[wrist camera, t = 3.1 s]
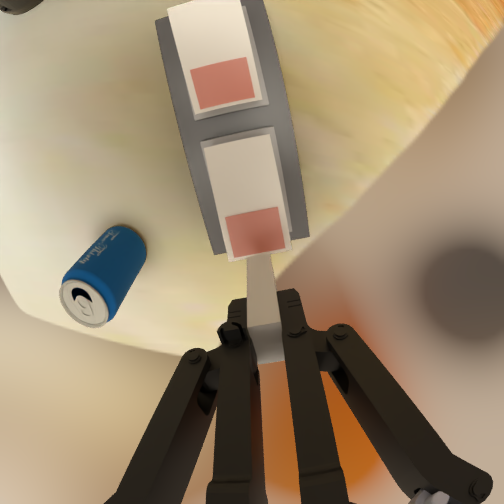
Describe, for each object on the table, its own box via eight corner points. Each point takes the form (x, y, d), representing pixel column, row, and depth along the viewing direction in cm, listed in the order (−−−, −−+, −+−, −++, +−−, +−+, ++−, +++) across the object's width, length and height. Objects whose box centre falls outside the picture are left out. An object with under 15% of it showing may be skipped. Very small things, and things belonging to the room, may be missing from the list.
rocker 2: (209, 151, 22) (203, 147, 19) (268, 138, 21) (269, 133, 19) (231, 253, 24) (228, 262, 21) (288, 242, 24) (292, 250, 21)
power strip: (158, -8, 18) (143, -25, 13) (247, -29, 17) (248, -51, 12) (217, 238, 32) (212, 260, 27) (302, 222, 31) (312, 241, 27)
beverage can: (144, 222, 31) (101, 278, 20) (151, 269, 34) (120, 334, 23) (99, 224, 31) (47, 275, 20) (109, 268, 34) (69, 327, 23)
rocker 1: (173, 13, 14) (166, 8, 12) (237, -2, 14) (237, -10, 12) (198, 109, 20) (194, 114, 18) (259, 95, 19) (262, 99, 17)
